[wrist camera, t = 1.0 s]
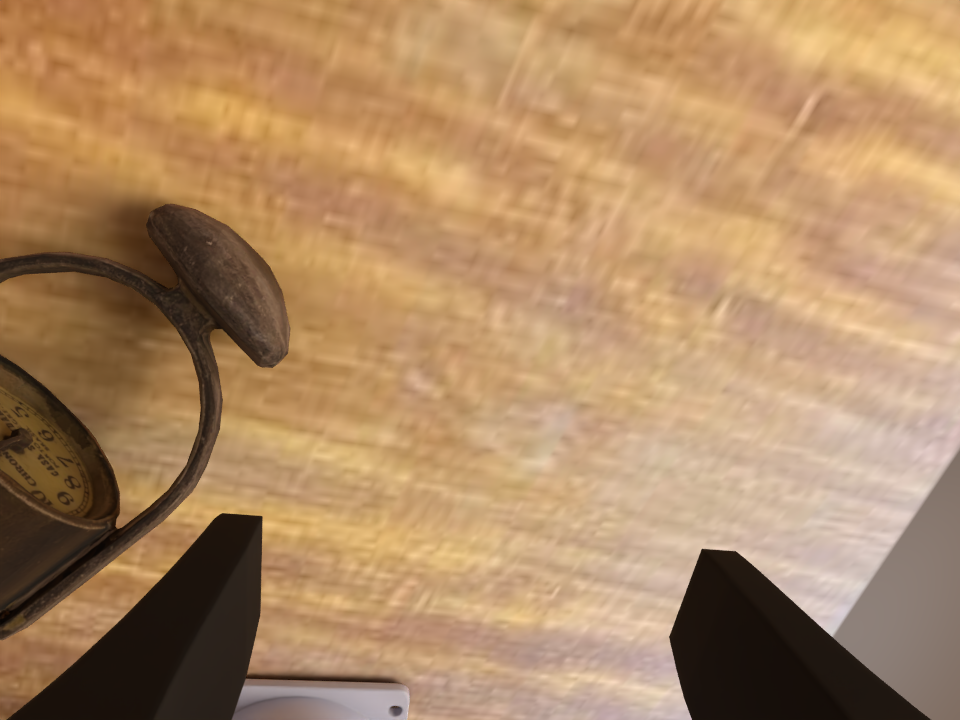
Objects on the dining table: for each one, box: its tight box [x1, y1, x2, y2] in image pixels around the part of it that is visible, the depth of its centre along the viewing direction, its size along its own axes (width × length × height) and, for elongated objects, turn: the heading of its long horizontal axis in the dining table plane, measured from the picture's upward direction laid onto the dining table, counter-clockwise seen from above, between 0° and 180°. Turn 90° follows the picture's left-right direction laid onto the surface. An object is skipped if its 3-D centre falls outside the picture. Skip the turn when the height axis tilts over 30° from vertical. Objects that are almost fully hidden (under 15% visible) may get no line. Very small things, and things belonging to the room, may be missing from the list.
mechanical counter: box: [0, 204, 290, 640], centre depth 18 cm, size 7×13×10 cm
